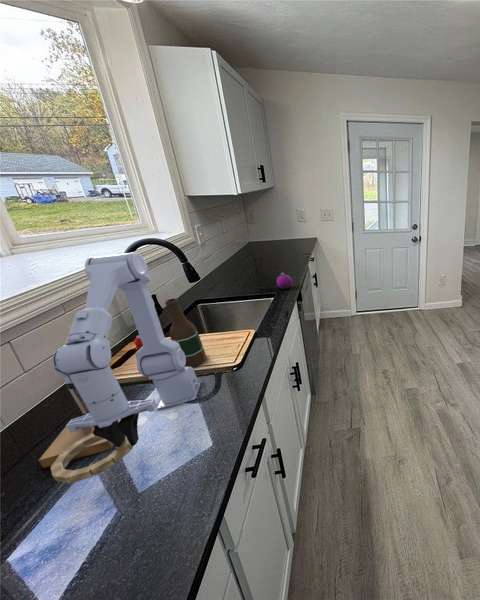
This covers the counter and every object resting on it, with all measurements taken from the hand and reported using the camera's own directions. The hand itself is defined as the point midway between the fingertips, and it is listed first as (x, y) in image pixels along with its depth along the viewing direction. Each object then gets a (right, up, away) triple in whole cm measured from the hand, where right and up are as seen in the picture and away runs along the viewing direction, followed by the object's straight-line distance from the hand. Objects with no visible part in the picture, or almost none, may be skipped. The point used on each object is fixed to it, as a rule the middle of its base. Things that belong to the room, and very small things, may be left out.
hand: (129, 443), depth 69 cm
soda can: (-26, +9, +42) cm, 50 cm away
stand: (-19, -4, +11) cm, 22 cm away
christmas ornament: (-5, +43, +105) cm, 114 cm away
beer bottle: (-13, +10, +42) cm, 45 cm away
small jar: (-29, 0, +21) cm, 36 cm away
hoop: (-5, -1, -2) cm, 6 cm away
